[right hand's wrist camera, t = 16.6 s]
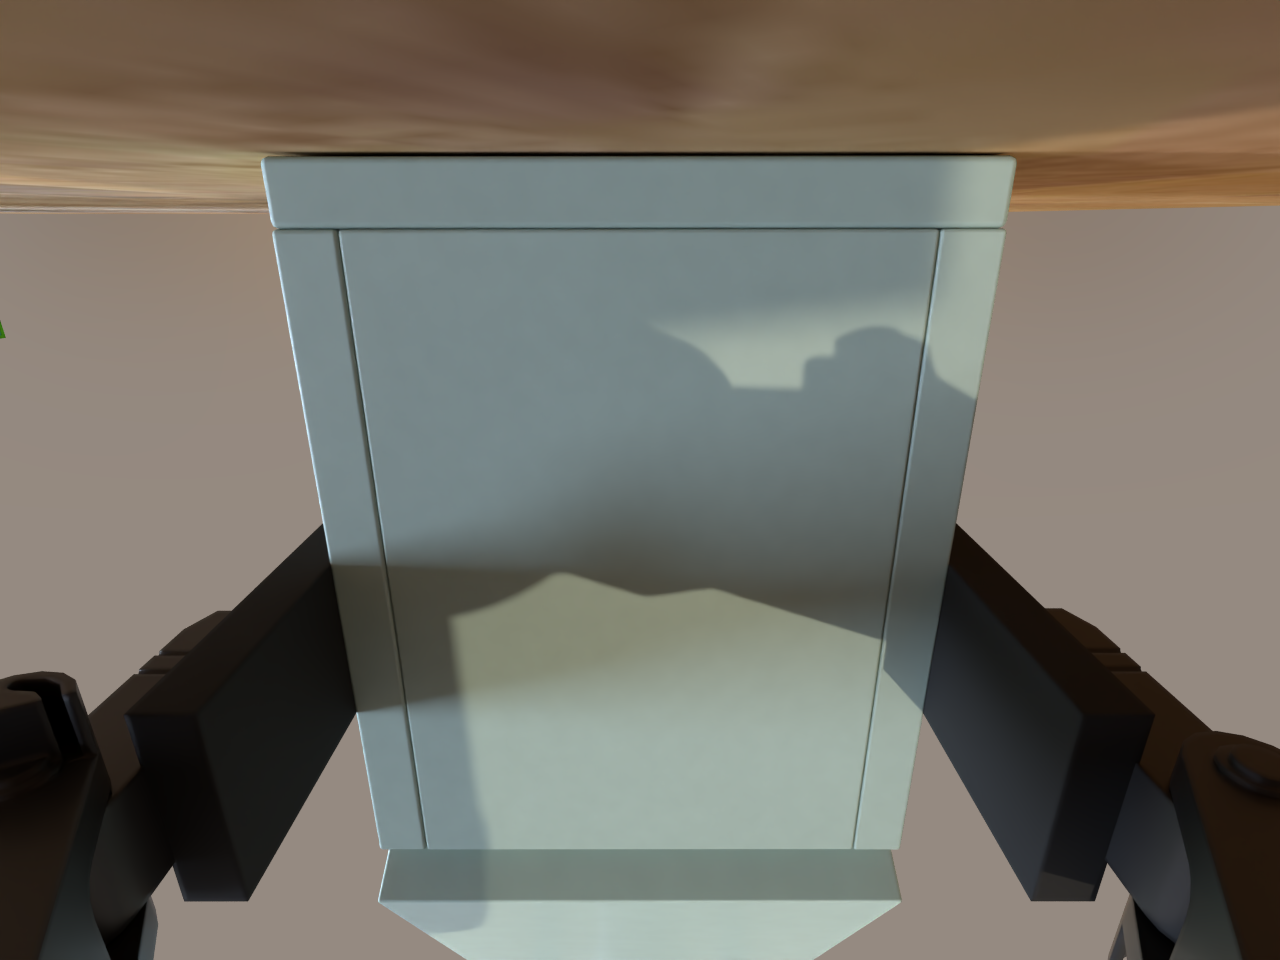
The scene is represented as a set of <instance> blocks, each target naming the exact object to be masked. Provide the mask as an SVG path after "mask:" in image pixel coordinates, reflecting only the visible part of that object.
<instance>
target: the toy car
mask: <svg viewBox="0 0 1280 960" xmlns="http://www.w3.org/2000/svg"><path fill="white" fill-rule="evenodd" d="M0 338H5V334H4V331H3V328H2V325H1V322H0Z"/></svg>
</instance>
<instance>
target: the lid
mask: <svg viewBox="0 0 1280 960" xmlns="http://www.w3.org/2000/svg"><path fill="white" fill-rule="evenodd" d="M901 901H902V899H901V894H900V889H899V885H898V880H897V876H896V871H895V866H894V862H893V857H892V852H891V849H854V848H853V847H852V849H428V848H427V846H426V848H425V849H389V852H388V856H387V861H386V866H385V870H384V875H383V880H382V884H381V889H380V894H379V898H378V902H379V903H380V904H382V905H384V906H385V907H387V908H388V909H390V910H391V911H393V912H394V913H396V914H397V915H399V916H400V917H402V918H404V919H405V920H407V921H408V922H410V923H411V924H413V925H414V926H416V927H417V928H419V929H420V930H422V931H424V932H425V933H427V934H428V935H430V936H431V937H433V938H434V939H436V940H437V941H439V942H441V943H442V944H444V945H445V946H447V947H448V948H450V949H451V950H453V951H454V952H456V953H457V954H459V955H461V956H462V957H464V958H465V959H467V960H814V959H815V958H817V957H818V956H820V955H821V954H823V953H824V952H826V951H827V950H829V949H830V948H832V947H833V946H835V945H837V944H838V943H840V942H841V941H843V940H844V939H846V938H847V937H849V936H850V935H852V934H853V933H855V932H856V931H858V930H859V929H861V928H862V927H864V926H865V925H867V924H869V923H870V922H872V921H873V920H875V919H876V918H878V917H879V916H881V915H882V914H884V913H885V912H887V911H888V910H890V909H891V908H893V907H895V906H896V905H898V904H899V903H901Z"/></svg>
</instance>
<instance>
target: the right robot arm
mask: <svg viewBox="0 0 1280 960" xmlns="http://www.w3.org/2000/svg"><path fill="white" fill-rule="evenodd" d="M355 714H356V706H355V700H354V695H353V689H352V683H351V677H350V672H349V666H348V660H347V655H346V649H345V643H344V637H343V632H342V626H341V620H340V615H339V609H338V603H337V597H336V592H335V586H334V580H333V575H332V569H331V564H330V559H329V553H328V548H327V542H326V536H325V531H324V525H323V524H322V525H321V526H320V527H319V528H318V529H317V530H316V531H314V532H313V533H312V534H311V535H310V536H309V537H308V538H307V539H306V540H305V541H304V542H303V543H302V544H301V545H300V546H299V547H298V548H297V549H296V550H295V551H294V552H293V553H292V554H290V555H289V557H287V558H286V559H285V560H284V561H283V562H282V563H281V564H280V565H279V566H278V567H277V568H276V569H275V570H274V571H273V572H272V573H271V574H270V575H269V576H268V577H267V578H265V579H264V580H263V581H262V582H261V583H260V584H259V585H258V586H257V587H256V588H255V589H254V590H253V591H252V592H251V593H250V594H249V595H248V596H247V597H246V598H245V599H244V600H243V601H242V602H240V603H239V604H238V605H237V606H236V607H235V608H234V609H233V610H232V611H217V612H215V613H213V614H211V615H209V616H207V617H206V618H204V619H202V620H200V621H198V622H196V623H195V624H193V625H191V626H189V627H187V628H185V629H184V630H183V631H181V632H180V633H179V634H178V635H177V636H176V637H175V638H174V639H173V640H171V641H170V642H169V643H168V644H167V645H166V646H165V647H164V648H163V649H161V650H160V653H159V656H154V657H153V658H151V659H150V660H149V661H148V662H147V663H146V664H145V665H144V666H143V667H141V668H140V669H139V674H134V675H133V676H131V677H130V678H129V679H128V680H127V681H126V682H125V683H124V684H123V685H121V686H120V687H119V688H118V689H117V690H116V691H115V692H114V693H112V694H111V695H110V696H109V697H108V698H107V699H106V700H105V701H104V702H103V703H101V704H100V705H99V706H98V707H97V708H96V709H95V710H94V711H92V712H91V713H90V714H89V715H88V714H87V712H86V709H85V706H84V703H83V700H82V697H81V694H80V692H79V689H78V686H77V683H76V680H75V679H73V678H71V677H70V676H68V675H66V674H65V673H58V672H44V671H41V672H34V673H27V674H20V675H14V676H10V677H7V678H4V679H0V960H153V958H154V950H155V943H156V936H157V929H158V921H157V915H156V909H155V906H154V904H153V901H152V898H151V895H152V893H153V892H154V891H155V889H156V888H157V886H158V885H159V884H160V882H161V881H162V879H163V878H164V877H165V875H166V874H167V873H168V871H169V870H170V868H171V867H172V866H173V868H174V871H175V874H176V877H177V880H178V883H179V886H180V890H181V893H182V896H183V899H184V901H248V900H249V899H250V897H251V895H252V893H253V892H254V890H255V888H256V886H257V885H258V883H259V881H260V879H261V878H262V876H263V874H264V873H265V871H266V869H267V867H268V866H269V864H270V862H271V860H272V859H273V857H274V855H275V853H276V852H277V850H278V848H279V846H280V845H281V843H282V841H283V839H284V838H285V836H286V834H287V833H288V831H289V829H290V827H291V826H292V824H293V822H294V820H295V819H296V817H297V815H298V813H299V811H300V810H301V808H302V806H303V805H304V803H305V801H306V799H307V798H308V796H309V794H310V792H311V791H312V789H313V787H314V785H315V784H316V782H317V780H318V779H319V777H320V775H321V773H322V771H323V770H324V768H325V766H326V765H327V763H328V761H329V759H330V757H331V756H332V754H333V752H334V751H335V749H336V747H337V745H338V744H339V742H340V740H341V738H342V737H343V735H344V733H345V731H346V730H347V728H348V726H349V725H350V723H351V721H352V719H353V718H354V716H355ZM923 714H924V715H925V717H926V719H927V720H928V722H929V724H930V726H931V727H932V729H933V731H934V733H935V735H936V736H937V738H938V740H939V742H940V743H941V745H942V747H943V748H944V750H945V752H946V754H947V755H948V757H949V759H950V761H951V762H952V764H953V766H954V768H955V769H956V771H957V773H958V774H959V776H960V778H961V780H962V782H963V783H964V785H965V787H966V788H967V790H968V792H969V794H970V795H971V797H972V799H973V801H974V802H975V804H976V806H977V808H978V809H979V811H980V813H981V815H982V816H983V818H984V820H985V822H986V823H987V825H988V827H989V829H990V830H991V832H992V834H993V836H994V837H995V839H996V841H997V843H998V844H999V846H1000V848H1001V849H1002V851H1003V853H1004V855H1005V857H1006V858H1007V860H1008V862H1009V864H1010V865H1011V867H1012V869H1013V870H1014V872H1015V874H1016V876H1017V877H1018V879H1019V881H1020V882H1021V884H1022V886H1023V888H1024V890H1025V891H1026V893H1027V895H1028V897H1029V898H1030V900H1031V901H1095V899H1096V896H1097V893H1098V890H1099V887H1100V883H1101V880H1102V877H1103V874H1104V871H1105V868H1106V865H1107V863H1108V864H1109V866H1110V867H1111V868H1112V870H1113V871H1114V873H1115V874H1116V875H1117V877H1118V878H1119V880H1120V881H1121V882H1122V884H1123V885H1124V886H1125V888H1126V889H1127V890H1128V892H1129V893H1130V895H1129V898H1128V901H1127V903H1126V906H1125V909H1124V912H1123V915H1122V918H1121V921H1120V924H1119V927H1118V929H1117V932H1116V935H1115V938H1114V941H1113V944H1112V946H1111V949H1110V952H1109V956H1108V960H1123V958H1124V957H1126V956H1127V960H1280V749H1278V748H1276V747H1274V746H1272V745H1269V744H1266V743H1263V742H1260V741H1257V740H1254V739H1252V738H1249V737H1246V736H1243V735H1237V734H1231V733H1224V732H1218V731H1212V730H1211V729H1210V728H1209V727H1208V726H1206V725H1205V724H1204V723H1203V722H1202V721H1201V720H1200V719H1199V718H1197V717H1196V716H1195V715H1194V714H1193V713H1192V712H1191V711H1190V710H1188V709H1187V708H1186V707H1185V706H1184V705H1183V704H1182V703H1181V702H1179V701H1178V700H1177V699H1176V698H1175V697H1174V696H1173V695H1172V694H1171V693H1169V692H1168V691H1167V690H1166V689H1165V688H1164V687H1163V686H1162V685H1160V684H1159V683H1158V682H1157V681H1156V680H1155V679H1154V678H1153V677H1151V676H1150V675H1149V674H1148V673H1147V672H1142V671H1141V667H1140V666H1139V665H1138V664H1137V663H1136V662H1135V661H1134V660H1132V659H1131V658H1130V657H1129V656H1128V655H1127V654H1126V653H1121V652H1120V648H1119V647H1118V646H1117V645H1116V644H1115V643H1113V642H1112V641H1111V640H1110V639H1109V638H1108V637H1107V636H1106V635H1104V634H1103V633H1102V632H1101V631H1100V630H1099V629H1098V628H1097V627H1095V626H1093V625H1091V624H1090V623H1088V622H1086V621H1084V620H1082V619H1080V618H1079V617H1077V616H1075V615H1073V614H1071V613H1069V612H1068V611H1066V610H1064V609H1062V608H1044V607H1043V606H1042V605H1041V604H1040V603H1039V602H1038V601H1037V600H1036V599H1035V598H1033V597H1032V596H1031V595H1030V594H1029V593H1028V592H1027V591H1026V590H1025V589H1024V588H1023V587H1022V586H1021V585H1020V584H1019V583H1018V582H1017V581H1016V580H1015V579H1014V578H1013V577H1012V576H1011V575H1010V574H1008V573H1007V572H1006V571H1005V570H1004V569H1003V568H1002V567H1001V566H1000V565H999V564H998V563H997V562H996V561H995V560H994V559H993V558H992V557H991V556H990V555H989V554H988V553H987V552H985V550H983V549H982V548H981V547H980V546H979V545H978V544H977V543H976V542H975V541H974V540H973V539H972V538H971V537H970V536H969V535H968V534H967V533H966V532H965V531H964V530H963V529H962V528H961V527H960V526H958V525H957V524H956V526H955V532H954V538H953V543H952V549H951V555H950V561H949V565H948V571H947V577H946V583H945V588H944V594H943V600H942V606H941V611H940V617H939V623H938V629H937V634H936V640H935V646H934V652H933V657H932V663H931V669H930V675H929V680H928V686H927V692H926V698H925V703H924V709H923Z"/></svg>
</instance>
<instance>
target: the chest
mask: <svg viewBox="0 0 1280 960" xmlns="http://www.w3.org/2000/svg"><path fill="white" fill-rule="evenodd" d="M1016 164H1017V162H1016V158H1014V157H1012V156H1010V155H943V156H268V157H266V158H264V159H262V161H261V167H262V173H263V178H264V184H265V190H266V195H267V201H268V207H269V212H270V218H271V222H272V224H273V226H274V227H276V228H279V229H277V230H274V231H273V234H272V235H273V241H274V247H275V252H276V258H277V264H278V269H279V275H280V281H281V286H282V292H283V298H284V303H285V309H286V315H287V320H288V326H289V332H290V338H291V343H292V349H293V355H294V360H295V366H296V372H297V377H298V383H299V389H300V394H301V400H302V406H303V411H304V417H305V423H306V428H307V434H308V440H309V445H310V451H311V457H312V462H313V468H314V474H315V480H316V485H317V491H318V496H319V502H320V508H321V514H322V519H323V525H324V531H325V536H326V542H327V548H328V553H329V559H330V564H331V569H332V575H333V580H334V586H335V592H336V597H337V603H338V609H339V615H340V620H341V626H342V632H343V637H344V643H345V649H346V655H347V660H348V666H349V672H350V677H351V683H352V689H353V695H354V700H355V706H356V712H357V718H358V724H359V730H360V735H361V741H362V747H363V752H364V758H365V764H366V769H367V775H368V781H369V786H370V792H371V798H372V803H373V809H374V815H375V820H376V826H377V832H378V837H379V843H380V848H381V849H425V848H426V846H427V848H428V849H852V847H853V848H854V849H899V848H900V843H901V838H902V832H903V826H904V820H905V815H906V809H907V803H908V797H909V792H910V786H911V780H912V774H913V768H914V763H915V757H916V751H917V745H918V740H919V734H920V728H921V722H922V717H923V709H924V703H925V698H926V692H927V686H928V680H929V675H930V669H931V663H932V657H933V652H934V646H935V640H936V634H937V629H938V623H939V617H940V611H941V606H942V600H943V594H944V588H945V583H946V577H947V571H948V565H949V561H950V555H951V549H952V543H953V538H954V532H955V526H956V520H957V514H958V509H959V503H960V497H961V491H962V485H963V480H964V474H965V468H966V462H967V457H968V451H969V445H970V439H971V433H972V428H973V422H974V416H975V410H976V405H977V399H978V393H979V387H980V382H981V376H982V370H983V364H984V359H985V353H986V347H987V341H988V335H989V330H990V324H991V318H992V312H993V307H994V301H995V295H996V289H997V283H998V278H999V272H1000V266H1001V260H1002V255H1003V249H1004V243H1005V237H1006V230H1005V229H1003V228H1000V227H1002V226H1004V225H1005V223H1006V221H1007V217H1008V211H1009V205H1010V199H1011V193H1012V188H1013V182H1014V176H1015V170H1016Z"/></svg>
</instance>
